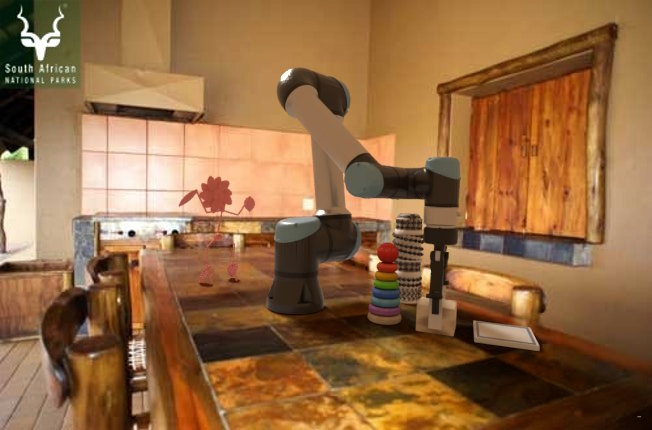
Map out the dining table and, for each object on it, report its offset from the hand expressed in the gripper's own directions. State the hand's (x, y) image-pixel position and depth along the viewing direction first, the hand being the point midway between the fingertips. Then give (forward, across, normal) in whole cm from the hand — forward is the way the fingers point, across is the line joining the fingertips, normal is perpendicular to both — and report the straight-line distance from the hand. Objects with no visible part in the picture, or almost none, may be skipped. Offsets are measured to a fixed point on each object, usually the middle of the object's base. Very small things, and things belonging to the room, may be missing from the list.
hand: (437, 319), depth 90 cm
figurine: (+2, +20, +74) cm, 77 cm away
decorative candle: (+2, +22, +10) cm, 24 cm away
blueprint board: (+2, 0, -14) cm, 14 cm away
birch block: (+2, 0, 0) cm, 2 cm away
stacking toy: (+2, 0, +12) cm, 12 cm away
